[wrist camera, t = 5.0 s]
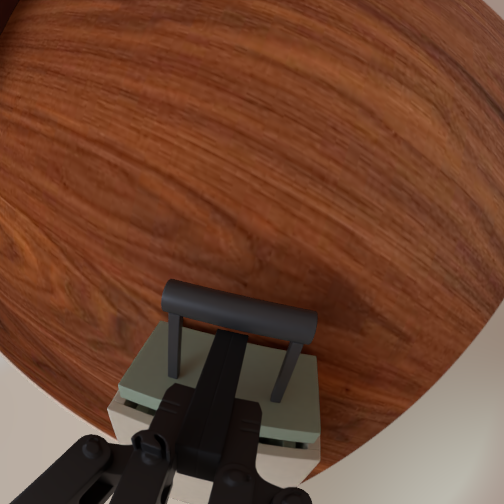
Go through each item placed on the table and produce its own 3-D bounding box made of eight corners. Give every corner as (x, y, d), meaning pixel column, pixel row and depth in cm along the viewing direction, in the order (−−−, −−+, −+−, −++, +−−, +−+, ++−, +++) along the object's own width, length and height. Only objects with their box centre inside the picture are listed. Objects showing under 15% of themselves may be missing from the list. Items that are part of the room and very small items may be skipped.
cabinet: (157, 328, 21) (106, 408, 13) (316, 365, 21) (321, 460, 13) (161, 425, 27) (136, 486, 19) (273, 452, 26) (265, 517, 18)
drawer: (164, 238, 18) (104, 289, 11) (346, 278, 17) (371, 350, 11) (163, 420, 25) (141, 472, 19) (273, 446, 24) (266, 502, 18)
